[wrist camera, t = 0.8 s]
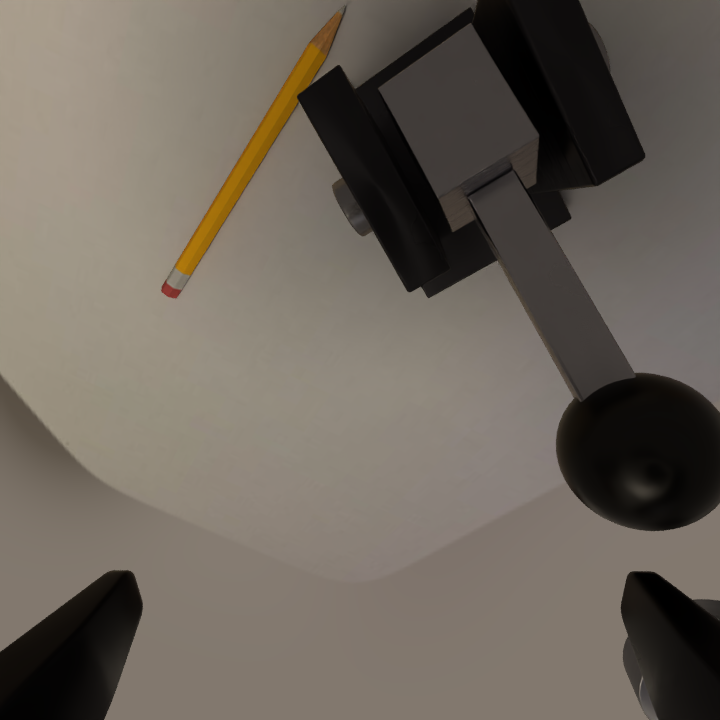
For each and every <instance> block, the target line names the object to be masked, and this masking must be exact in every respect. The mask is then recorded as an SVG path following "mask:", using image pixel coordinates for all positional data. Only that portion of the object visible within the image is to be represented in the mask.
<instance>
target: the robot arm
mask: <svg viewBox="0 0 720 720" xmlns="http://www.w3.org/2000/svg"><path fill="white" fill-rule="evenodd" d="M142 609H143V603H142V599H141V595H140V592H139V588H138V585H137V582H136V579H135V576H134V574H133V573H132V572H131V571H128V570H124V571H123V570H122V571H121V570H120V571H119V570H113V571H109V572H107V573H105V574H104V575H103V576H101V577H100V578H99V579H97V580H96V581H95V582H93V583H92V584H90V585H89V586H88V587H87V588H85V589H84V590H82V591H81V592H80V593H78V594H77V595H76V596H75V597H73V598H72V599H70V600H69V601H68V602H66V603H65V604H64V605H63V606H61V607H60V608H58V609H57V610H56V611H55V612H53V613H52V614H50V615H49V616H48V617H46V618H45V619H44V620H42V621H41V622H40V623H38V624H37V625H36V626H34V627H33V628H32V629H30V630H29V631H28V632H26V633H25V634H24V635H22V636H21V637H20V638H18V639H17V640H16V641H14V642H13V643H12V644H10V645H9V646H8V647H6V648H5V649H4V650H2V651H1V652H0V720H104V719H105V716H106V714H107V711H108V709H109V707H110V704H111V702H112V699H113V696H114V694H115V691H116V688H117V685H118V682H119V679H120V677H121V674H122V671H123V668H124V665H125V662H126V659H127V656H128V653H129V650H130V647H131V645H132V642H133V639H134V636H135V633H136V630H137V627H138V624H139V621H140V618H141V615H142ZM621 614H622V618H623V622H624V625H625V628H626V630H627V633H628V636H629V639H630V642H631V645H632V648H633V651H634V654H635V656H636V659H637V662H638V665H639V668H640V671H641V674H642V677H643V680H644V682H645V685H646V688H647V691H648V694H649V697H650V700H651V702H652V705H653V708H654V711H655V713H656V716H657V718H658V720H720V621H719V620H718V619H717V618H715V617H714V616H713V615H711V614H710V613H709V612H707V611H706V610H705V609H703V608H702V607H701V606H700V605H698V604H697V603H696V602H694V601H693V600H692V599H690V598H689V597H688V596H686V595H685V594H684V593H682V592H681V591H680V590H678V589H677V588H676V587H674V586H673V585H672V584H671V583H669V582H668V581H667V580H665V579H664V578H663V577H661V576H660V575H658V574H657V573H655V572H649V571H647V572H646V571H644V572H643V571H633V572H630V573H629V574H628V576H627V579H626V584H625V588H624V593H623V598H622V602H621Z"/></svg>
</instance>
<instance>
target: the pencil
mask: <svg viewBox="0 0 720 720" xmlns="http://www.w3.org/2000/svg"><path fill="white" fill-rule="evenodd" d="M344 8H345V5H344V6H343V7H342V8H341V9H340V10H339V11H338V12H337V13H336V14H335V15H334V16H333V17H332V18H331V19H330V20H329V21H328V23H327V24H326V25H325V26H324V27H323V28H322V29H321V30H320V31H319V32H318V34H317V35H316V36H315V37H314V38H313V39H312V40H311V41H310V42H309V44H308V45H307V47H306V49H305V50H304V52H303V54H302V55H301V57H300V59H299V60H298V62H297V64H296V65H295V67H294V69H293V70H292V72H291V74H290V75H289V77H288V79H287V80H286V82H285V84H284V85H283V87H282V89H281V90H280V92H279V94H278V95H277V97H276V98H275V100H274V102H273V103H272V105H271V107H270V108H269V110H268V112H267V113H266V115H265V117H264V118H263V120H262V122H261V123H260V125H259V127H258V128H257V130H256V132H255V133H254V135H253V137H252V138H251V140H250V142H249V143H248V145H247V147H246V148H245V150H244V152H243V153H242V155H241V157H240V158H239V160H238V161H237V163H236V165H235V166H234V168H233V170H232V171H231V173H230V175H229V176H228V178H227V180H226V181H225V183H224V185H223V186H222V188H221V190H220V191H219V193H218V195H217V196H216V198H215V200H214V201H213V203H212V205H211V206H210V208H209V210H208V211H207V213H206V215H205V216H204V218H203V219H202V221H201V223H200V224H199V226H198V228H197V229H196V231H195V233H194V234H193V236H192V238H191V239H190V241H189V243H188V244H187V246H186V248H185V249H184V251H183V253H182V254H181V256H180V258H179V259H178V261H177V263H176V264H175V266H174V268H173V269H172V271H171V273H170V274H169V276H168V278H167V279H166V281H165V282H164V284H163V286H162V290H161V291H162V293H164V294H165V295H166V296H168V297H171V298H177V296H178V295H179V293H180V291H181V290H182V288H183V287H184V285H185V283H186V282H187V280H188V279H189V277H190V275H191V274H192V272H193V271H194V269H195V267H196V266H197V264H198V263H199V261H200V259H201V258H202V256H203V254H204V253H205V251H206V250H207V248H208V246H209V245H210V243H211V242H212V240H213V238H214V237H215V235H216V234H217V232H218V230H219V229H220V227H221V226H222V224H223V222H224V221H225V219H226V217H227V216H228V214H229V213H230V211H231V209H232V208H233V206H234V205H235V203H236V201H237V200H238V198H239V197H240V195H241V193H242V192H243V190H244V188H245V187H246V185H247V184H248V182H249V180H250V179H251V177H252V176H253V174H254V172H255V171H256V169H257V168H258V166H259V164H260V163H261V161H262V160H263V158H264V156H265V155H266V153H267V151H268V150H269V148H270V147H271V145H272V143H273V142H274V140H275V139H276V137H277V135H278V134H279V132H280V131H281V129H282V127H283V126H284V124H285V122H286V121H287V119H288V118H289V116H290V114H291V113H292V111H293V110H294V108H295V106H296V105H297V103H298V102H299V101H298V99H297V95H298V94H299V93H301V92H302V91H303V90H305V89H306V88H307V87H308V85H309V84H310V82H311V81H312V79H313V77H314V76H315V74H316V73H317V71H318V69H319V68H320V66H321V65H322V63H323V61H324V60H325V58H326V56H327V54H328V51H329V49H330V46H331V43H332V41H333V38H334V36H335V33H336V30H337V28H338V25H339V23H340V20H341V18H342V15H343V11H344Z"/></svg>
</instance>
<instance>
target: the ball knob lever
mask: <svg viewBox="0 0 720 720" xmlns="http://www.w3.org/2000/svg"><path fill="white" fill-rule="evenodd" d="M378 93H379V95H380V97H381V99H382V101H383V103H384V105H385V107H386V109H387V111H388V113H389V115H390V117H391V119H392V121H393V123H394V125H395V127H396V129H397V131H398V133H399V135H400V137H401V139H402V141H403V143H404V145H405V147H406V148H407V150H408V152H409V154H410V156H411V158H412V159H413V161H414V163H415V165H416V167H417V169H418V170H419V172H420V174H421V176H422V178H423V180H424V181H425V183H426V185H427V187H428V189H429V191H430V192H431V194H432V196H433V198H434V200H435V202H436V203H437V205H438V207H439V209H440V211H441V213H442V214H443V216H444V218H445V220H446V222H447V224H448V225H449V227H450V229H451V231H452V232H454V231H456V230H458V229H459V228H461V227H463V226H464V225H466V224H468V223H470V222H471V221H473V220H475V221H476V223H477V225H478V226H479V228H480V230H481V232H482V234H483V235H484V237H485V239H486V241H487V243H488V244H489V246H490V248H491V250H492V252H493V253H494V255H495V257H496V259H497V260H498V262H499V264H500V266H501V268H502V269H503V271H504V273H505V275H506V277H507V278H508V280H509V282H510V284H511V286H512V287H513V289H514V291H515V293H516V295H517V296H518V298H519V300H520V302H521V304H522V305H523V307H524V309H525V311H526V313H527V314H528V316H529V318H530V320H531V321H532V323H533V325H534V327H535V329H536V330H537V332H538V334H539V336H540V338H541V339H542V341H543V343H544V345H545V347H546V348H547V350H548V352H549V354H550V356H551V357H552V359H553V361H554V363H555V365H556V366H557V368H558V370H559V372H560V374H561V375H562V377H563V379H564V381H565V383H566V384H567V386H568V388H569V390H570V391H571V393H572V395H573V397H574V399H573V400H572V402H571V403H570V404H569V405H568V407H567V408H566V410H565V412H564V413H563V416H562V418H561V420H560V423H559V426H558V430H557V437H556V453H557V459H558V463H559V466H560V470H561V472H562V474H563V477H564V479H565V481H566V482H567V484H568V485H569V487H570V488H571V490H572V491H573V492H574V494H575V495H576V496H577V497H578V498H579V499H580V500H581V501H582V502H583V503H584V504H585V505H586V506H587V507H588V508H590V509H591V510H592V511H593V512H595V513H596V514H598V515H600V516H601V517H603V518H605V519H607V520H609V521H611V522H614V523H616V524H619V525H621V526H625V527H628V528H632V529H637V530H645V531H664V530H670V529H675V528H680V527H683V526H687V525H689V524H691V523H693V522H696V521H698V520H700V519H701V518H703V517H704V516H706V515H707V514H709V513H710V512H711V511H712V510H713V509H715V508H716V507H717V505H718V504H719V503H720V412H719V411H718V410H717V409H716V408H715V407H714V405H713V404H712V403H711V402H710V401H709V400H707V399H706V398H705V397H704V396H703V395H702V394H700V393H699V392H698V391H696V390H694V389H693V388H691V387H690V386H688V385H686V384H684V383H682V382H680V381H677V380H674V379H672V378H669V377H665V376H660V375H656V374H649V373H634V371H633V370H632V368H631V366H630V364H629V363H628V361H627V359H626V358H625V356H624V354H623V353H622V351H621V349H620V347H619V346H618V344H617V342H616V341H615V339H614V337H613V335H612V334H611V332H610V330H609V329H608V327H607V325H606V324H605V322H604V320H603V318H602V317H601V315H600V313H599V312H598V310H597V308H596V307H595V305H594V303H593V301H592V300H591V298H590V296H589V295H588V293H587V291H586V289H585V288H584V286H583V284H582V283H581V281H580V279H579V278H578V276H577V274H576V272H575V271H574V269H573V267H572V266H571V264H570V262H569V261H568V259H567V257H566V255H565V254H564V252H563V250H562V249H561V247H560V245H559V243H558V242H557V240H556V238H555V237H554V235H553V233H552V232H551V230H550V228H549V226H548V225H547V223H546V221H545V220H544V218H543V216H542V215H541V213H540V211H539V209H538V208H537V206H536V204H535V203H534V201H533V199H532V197H531V196H530V194H529V192H528V191H527V188H529V187H531V186H533V185H534V184H535V183H536V179H537V167H538V155H539V144H540V133H539V132H538V130H537V128H536V127H535V125H534V123H533V122H532V120H531V118H530V117H529V115H528V114H527V112H526V110H525V109H524V107H523V105H522V104H521V102H520V100H519V99H518V97H517V95H516V94H515V92H514V90H513V89H512V87H511V86H510V84H509V82H508V81H507V79H506V77H505V76H504V74H503V72H502V71H501V69H500V67H499V66H498V64H497V62H496V61H495V59H494V58H493V56H492V54H491V53H490V51H489V49H488V48H487V46H486V44H485V43H484V41H483V39H482V38H481V36H480V34H479V33H478V31H477V30H476V28H475V26H474V25H473V23H469V24H468V25H466V26H465V27H463V28H462V29H461V30H459V31H458V32H456V33H455V34H454V35H452V36H451V37H449V38H448V39H447V40H445V41H444V42H442V43H441V44H439V45H438V46H437V47H435V48H434V49H432V50H431V51H430V52H428V53H427V54H425V55H424V56H422V57H421V58H420V59H418V60H417V61H415V62H414V63H413V64H411V65H410V66H408V67H407V68H406V69H404V70H403V71H401V72H400V73H398V74H397V75H396V76H394V77H393V78H391V79H390V80H389V81H387V82H386V83H384V84H383V85H381V86H380V87H379V88H378Z"/></svg>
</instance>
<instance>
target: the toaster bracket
mask: <svg viewBox="0 0 720 720" xmlns="http://www.w3.org/2000/svg"><path fill="white" fill-rule="evenodd" d="M469 23H473V25H474V26H475V28H476V30H477V31H478V33H479V34H480V36H481V38H482V39H483V41H484V43H485V44H486V46H487V48H488V49H489V51H490V53H491V54H492V56H493V58H494V59H495V61H496V62H497V64H498V66H499V67H500V69H501V71H502V72H503V74H504V76H505V77H506V79H507V81H508V82H509V84H510V86H511V87H512V89H513V90H514V92H515V94H516V95H517V97H518V99H519V100H520V102H521V104H522V105H523V107H524V109H525V110H526V112H527V114H528V115H529V117H530V118H531V120H532V122H533V123H534V125H535V127H536V128H537V130H538V132H539V133H540V144H539V155H538V167H537V179H536V183H535V184H534V185H533V186H531V187H529V188H527V191H528V192H529V194H530V196H531V197H532V199H533V201H534V203H535V204H536V206H537V208H538V209H539V211H540V213H541V215H542V216H543V218H544V220H545V221H546V223H547V225H548V226H549V228H550V230H552V229H554V228H556V227H558V226H560V225H561V224H563V223H565V222H567V221H569V220H570V219H571V216H570V213H569V211H568V209H567V207H566V205H565V203H564V201H563V199H562V197H561V195H560V192H559V190H568V189H576V188H585V187H594V186H599V185H601V184H602V183H604V182H606V181H608V180H609V179H611V178H613V177H615V176H616V175H618V174H620V173H622V172H624V171H625V170H627V169H629V168H631V167H632V166H634V165H636V164H638V163H639V162H641V161H643V160H644V158H645V153H644V150H643V148H642V146H641V143H640V141H639V139H638V136H637V134H636V132H635V129H634V127H633V125H632V122H631V120H630V118H629V116H628V113H627V111H626V109H625V106H624V104H623V102H622V99H621V97H620V95H619V92H618V90H617V88H616V85H615V83H614V81H613V79H612V76H611V74H610V64H609V59H608V55H607V51H606V48H605V46H604V43H603V41H602V39H601V37H600V36H599V34H598V32H597V31H596V29H595V28H594V27H593V26H592V25H591V24H590V23H589V22H588V21H587V18H586V16H585V14H584V11H583V9H582V7H581V4H580V2H579V0H477V5H476V9H475V13H474V12H473V10H472V8H468V9H467V10H465V11H464V12H462V13H461V14H460V15H458V16H457V17H455V18H454V19H453V20H451V21H450V22H449V23H447V24H446V25H444V26H443V27H442V28H440V29H439V30H437V31H436V32H435V33H433V34H432V35H430V36H429V37H428V38H426V39H425V40H423V41H422V42H421V43H419V44H418V45H416V46H415V47H414V48H412V49H411V50H409V51H408V52H407V53H405V54H404V55H402V56H401V57H400V58H398V59H397V60H396V61H394V62H393V63H391V64H390V65H389V66H387V67H386V68H384V69H383V70H382V71H380V72H379V73H377V74H376V75H375V76H373V77H372V78H370V79H369V80H368V81H366V82H365V83H363V84H362V85H361V86H359V87H358V88H356V89H354V87H353V85H352V84H351V82H350V81H349V79H348V77H347V76H346V74H345V72H344V71H343V69H342V68H341V66H340V65H338V66H336V67H334V68H333V69H332V70H330V71H329V72H328V73H326V74H325V75H324V76H322V77H321V78H320V79H318V80H317V81H316V82H314V83H313V84H311V85H310V86H309V87H307V88H306V89H305V90H303V91H302V92H301V93H299V94H298V95H297V99H298V101H299V102H300V104H301V106H302V108H303V109H304V111H305V113H306V115H307V116H308V118H309V120H310V122H311V123H312V125H313V127H314V129H315V130H316V132H317V134H318V136H319V137H320V139H321V141H322V143H323V144H324V146H325V148H326V150H327V151H328V153H329V155H330V157H331V158H332V160H333V162H334V164H335V165H336V167H337V169H338V171H339V172H340V174H341V176H342V178H341V179H339V180H338V181H336V182H335V183H334V184H333V185H332V189H333V193H334V195H335V198H336V200H337V202H338V204H339V206H340V207H341V209H342V211H343V213H344V214H345V216H346V218H347V219H348V221H349V222H350V224H351V225H352V227H353V228H354V229H355V231H356V232H357V233H358V234H359V235H361V236H366V235H367V234H369V233H370V232H372V231H373V232H374V234H375V235H376V237H377V239H378V241H379V242H380V244H381V246H382V248H383V249H384V251H385V253H386V255H387V256H388V258H389V260H390V262H391V263H392V265H393V267H394V269H395V270H396V272H397V274H398V276H399V277H400V279H401V281H402V283H403V285H404V286H405V288H406V290H407V291H408V292H412V291H414V290H415V289H417V288H419V287H422V288H423V290H424V292H425V294H426V296H427V297H428V298H430V297H432V296H434V295H435V294H437V293H439V292H441V291H443V290H444V289H446V288H448V287H450V286H452V285H453V284H455V283H457V282H459V281H461V280H462V279H464V278H466V277H468V276H470V275H471V274H473V273H475V272H477V271H479V270H480V269H482V268H484V267H486V266H488V265H489V264H491V263H493V262H495V261H497V259H496V257H495V255H494V253H493V252H492V250H491V248H490V246H489V244H488V243H487V241H486V239H485V237H484V235H483V234H482V232H481V230H480V228H479V226H478V225H477V223H476V221H475V220H473V221H471V222H470V223H468V224H466V225H464V226H463V227H461V228H459V229H458V230H456V231H454V232H452V231H451V229H450V227H449V225H448V224H447V222H446V220H445V218H444V216H443V214H442V213H441V211H440V209H439V207H438V205H437V203H436V202H435V200H434V198H433V196H432V194H431V192H430V191H429V189H428V187H427V185H426V183H425V181H424V180H423V178H422V176H421V174H420V172H419V170H418V169H417V167H416V165H415V163H414V161H413V159H412V158H411V156H410V154H409V152H408V150H407V148H406V147H405V145H404V143H403V141H402V139H401V137H400V135H399V133H398V131H397V129H396V127H395V125H394V123H393V121H392V119H391V117H390V115H389V113H388V111H387V109H386V107H385V105H384V103H383V101H382V99H381V97H380V95H379V93H378V88H379V87H380V86H381V85H383V84H384V83H386V82H387V81H389V80H390V79H391V78H393V77H394V76H396V75H397V74H398V73H400V72H401V71H403V70H404V69H406V68H407V67H408V66H410V65H411V64H413V63H414V62H415V61H417V60H418V59H420V58H421V57H422V56H424V55H425V54H427V53H428V52H430V51H431V50H432V49H434V48H435V47H437V46H438V45H439V44H441V43H442V42H444V41H445V40H447V39H448V38H449V37H451V36H452V35H454V34H455V33H456V32H458V31H459V30H461V29H462V28H463V27H465V26H466V25H468V24H469Z"/></svg>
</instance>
